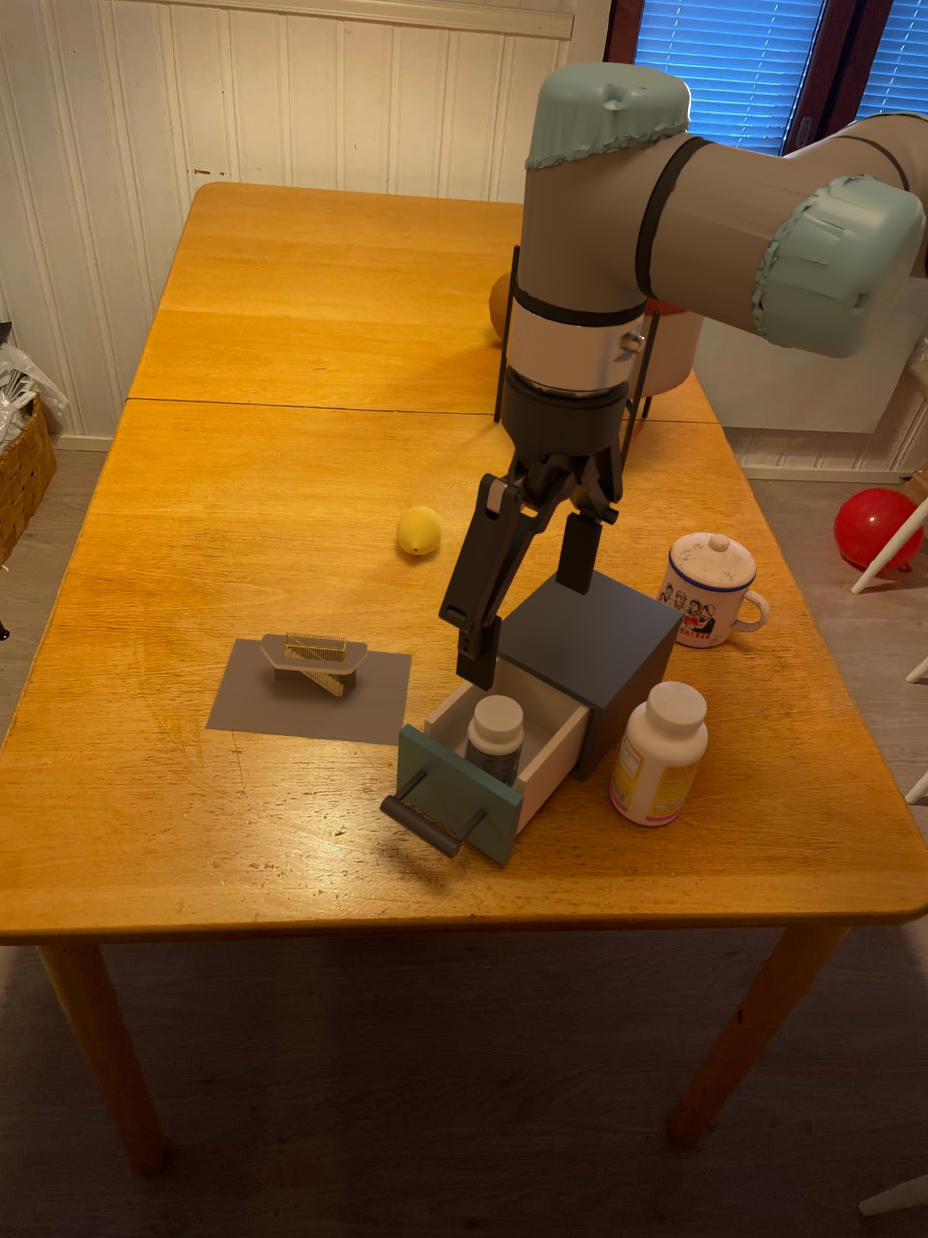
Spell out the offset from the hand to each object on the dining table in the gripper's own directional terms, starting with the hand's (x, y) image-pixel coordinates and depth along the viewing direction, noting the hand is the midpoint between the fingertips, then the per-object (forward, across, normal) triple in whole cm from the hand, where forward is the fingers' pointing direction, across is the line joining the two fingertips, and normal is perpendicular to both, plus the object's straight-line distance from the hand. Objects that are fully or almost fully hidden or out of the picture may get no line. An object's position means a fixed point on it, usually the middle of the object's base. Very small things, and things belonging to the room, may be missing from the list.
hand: (526, 630), depth 67 cm
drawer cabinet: (+19, +12, 0) cm, 22 cm away
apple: (+18, +76, +48) cm, 92 cm away
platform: (+19, -2, +20) cm, 28 cm away
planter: (+19, +56, +24) cm, 63 cm away
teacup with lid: (+19, +32, -6) cm, 37 cm away
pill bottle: (+17, -2, 0) cm, 17 cm away
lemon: (+19, +22, +26) cm, 39 cm away
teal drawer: (+18, -3, 0) cm, 18 cm away
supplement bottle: (+19, +7, -11) cm, 23 cm away
